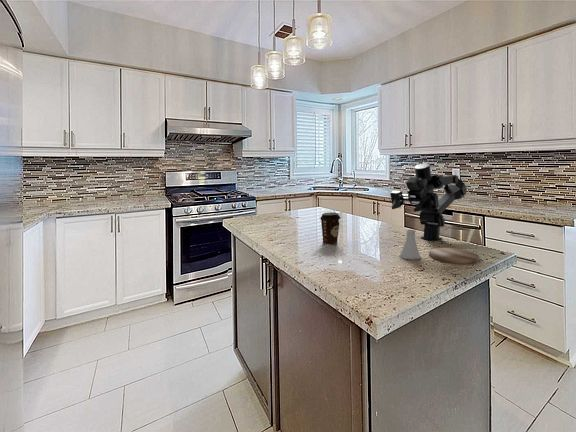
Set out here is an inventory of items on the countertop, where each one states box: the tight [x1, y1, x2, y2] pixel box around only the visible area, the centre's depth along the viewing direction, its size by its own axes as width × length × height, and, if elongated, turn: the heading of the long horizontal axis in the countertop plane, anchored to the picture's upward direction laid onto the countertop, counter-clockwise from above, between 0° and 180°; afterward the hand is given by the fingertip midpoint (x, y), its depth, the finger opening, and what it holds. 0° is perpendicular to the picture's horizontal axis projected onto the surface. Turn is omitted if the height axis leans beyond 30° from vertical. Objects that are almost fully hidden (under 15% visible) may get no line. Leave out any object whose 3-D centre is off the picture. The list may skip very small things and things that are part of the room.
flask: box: [399, 229, 421, 261], centre depth 113 cm, size 7×7×10 cm
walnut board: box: [428, 247, 481, 265], centre depth 113 cm, size 16×16×1 cm
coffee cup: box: [319, 212, 341, 246], centre depth 135 cm, size 9×8×13 cm
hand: (402, 209), depth 121 cm, fingers open, 9 cm apart
